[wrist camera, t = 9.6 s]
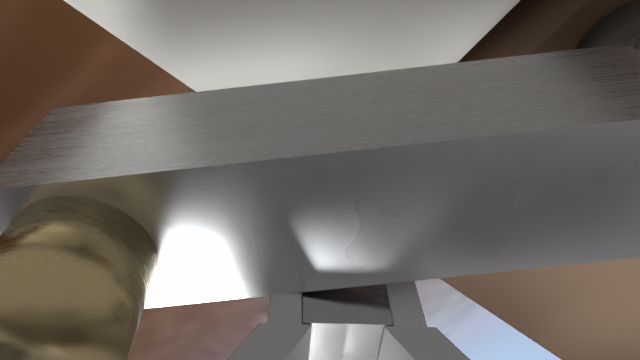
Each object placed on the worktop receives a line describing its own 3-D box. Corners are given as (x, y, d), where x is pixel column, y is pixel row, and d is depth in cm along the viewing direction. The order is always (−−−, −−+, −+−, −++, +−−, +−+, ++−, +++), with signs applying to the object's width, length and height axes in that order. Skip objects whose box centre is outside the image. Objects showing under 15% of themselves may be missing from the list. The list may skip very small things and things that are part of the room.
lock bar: (835, -16, 8) (1245, 80, 4) (748, 174, 10) (985, 340, 6) (39, 73, 8) (-145, 230, 5) (113, 241, 10) (21, 435, 7)
